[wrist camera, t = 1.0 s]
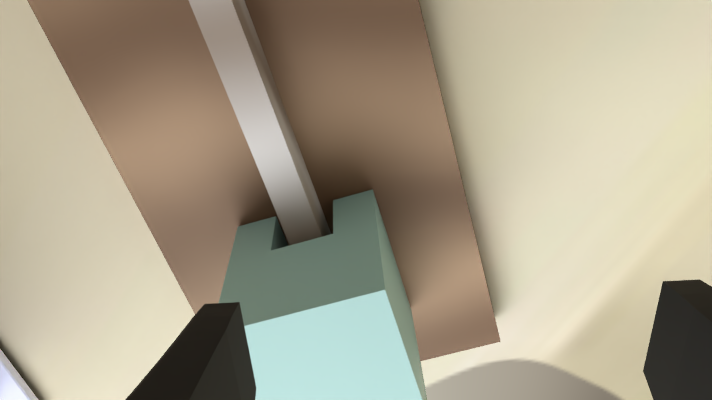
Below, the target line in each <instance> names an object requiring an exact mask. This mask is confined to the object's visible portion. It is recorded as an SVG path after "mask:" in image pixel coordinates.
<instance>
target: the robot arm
mask: <svg viewBox="0 0 712 400" xmlns="http://www.w3.org/2000/svg"><path fill="white" fill-rule="evenodd" d="M643 372H644V374H645V377H646V380H647V383H648V385H649V388H650V391H651V394H652V397H653V399H654V400H712V287H711V286H709V285H708V284H706V283H704V282H703V281H701V280H683V281H663V284H662V288H661V293H660V297H659V302H658V306H657V311H656V315H655V320H654V324H653V329H652V333H651V338H650V343H649V347H648V352H647V356H646V361H645V365H644V370H643ZM255 397H256V383H255V378H254V373H253V368H252V363H251V358H250V353H249V348H248V343H247V338H246V333H245V327H244V322H243V317H242V312H241V307H240V302H232V303H211V304H204V305H203V306H202V307H201V308H200V309H199V311H198V312H197V313H196V314H195V316H194V317H193V318H192V319H191V321H190V322H189V323H188V324H187V326H186V327H185V328H184V330H183V331H182V332H181V333H180V335H179V336H178V337H177V338H176V340H175V341H174V342H173V343H172V345H171V346H170V347H169V348H168V350H167V351H166V352H165V353H164V355H163V356H162V357H161V358H160V360H159V361H158V362H157V363H156V364H155V366H154V367H153V368H152V369H151V370H150V372H149V373H148V374H147V375H146V376H145V377H144V379H143V380H142V381H141V382H140V383H139V385H138V386H137V387H136V388H135V389H134V390H133V392H132V393H131V394H130V395H129V396H128V397H127V399H126V400H255ZM0 400H38V398H37V397H36V396H35V394H34V393H33V392H32V390H31V389H30V388H29V386H28V385H27V384H26V382H25V381H24V380H23V378H22V377H21V376H20V374H19V373H18V372H17V370H16V369H15V368H14V367H13V365H12V364H11V363H10V361H9V360H8V359H7V357H6V356H5V355H4V353H3V352H2V351H1V349H0Z"/></svg>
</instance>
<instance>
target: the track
mask: <svg viewBox="0 0 712 400" xmlns="http://www.w3.org/2000/svg"><path fill="white" fill-rule="evenodd" d="M27 1H28V2H29V4H30V6H31V8H32V10H33V12H34V14H35V16H36V17H37V19H38V21H39V23H40V25H41V27H42V29H43V31H44V32H45V34H46V36H47V38H48V40H49V42H50V44H51V46H52V47H53V49H54V51H55V53H56V55H57V57H58V59H59V60H60V62H61V64H62V66H63V68H64V70H65V72H66V74H67V75H68V77H69V79H70V81H71V83H72V85H73V87H74V89H75V90H76V92H77V94H78V96H79V98H80V100H81V102H82V104H83V105H84V107H85V109H86V111H87V113H88V115H89V117H90V118H91V120H92V122H93V124H94V126H95V128H96V130H97V132H98V133H99V135H100V137H101V139H102V141H103V143H104V145H105V147H106V148H107V150H108V152H109V154H110V156H111V158H112V160H113V162H114V163H115V165H116V167H117V169H118V171H119V173H120V175H121V176H122V178H123V180H124V182H125V184H126V186H127V188H128V190H129V191H130V193H131V195H132V197H133V199H134V201H135V203H136V205H137V206H138V208H139V210H140V212H141V214H142V216H143V218H144V220H145V221H146V223H147V225H148V227H149V229H150V231H151V233H152V234H153V236H154V238H155V240H156V242H157V244H158V246H159V248H160V249H161V251H162V253H163V255H164V257H165V259H166V261H167V263H168V264H169V266H170V268H171V270H172V272H173V274H174V276H175V277H176V279H177V281H178V283H179V285H180V287H181V289H182V291H183V292H184V294H185V296H186V298H187V300H188V302H189V304H190V306H191V307H192V309H193V311H194V313H195V314H196V313H197V312H198V311H199V309H200V308H201V307H202V306H203V305H204V304H211V303H219V299H220V295H221V291H222V287H223V283H224V279H225V275H226V271H227V267H228V263H229V259H230V255H231V252H232V248H233V244H234V240H235V236H236V232H237V228H238V226H242V225H245V224H249V223H253V222H256V221H260V220H264V219H267V218H271V217H274V216H276V217H277V219H278V222H279V224H280V227H281V229H282V232H283V234H284V236H285V239H286V241H287V244H288V246H290V245H293V244H297V243H301V242H304V241H308V240H312V239H315V238H319V237H323V236H327V235H330V234H333V200H336V199H340V198H343V197H347V196H350V195H354V194H358V193H361V192H365V191H368V190H372V189H373V192H374V195H375V198H376V201H377V204H378V207H379V211H380V214H381V217H382V220H383V223H384V226H385V229H386V232H387V236H388V239H389V242H390V245H391V248H392V251H393V254H394V257H395V260H396V264H397V267H398V270H399V273H400V276H401V279H402V282H403V285H404V289H405V292H406V295H407V298H408V301H409V304H410V307H411V311H412V317H413V322H414V328H415V334H416V339H417V345H418V351H419V357H420V361H423V360H427V359H431V358H435V357H439V356H443V355H447V354H451V353H455V352H460V351H464V350H468V349H472V348H476V347H480V346H484V345H488V344H492V343H496V342H501V341H500V337H499V333H498V329H497V325H496V321H495V317H494V312H493V308H492V304H491V300H490V296H489V292H488V287H487V283H486V279H485V275H484V271H483V267H482V262H481V258H480V254H479V250H478V246H477V242H476V237H475V233H474V229H473V225H472V221H471V217H470V213H469V208H468V204H467V200H466V196H465V192H464V188H463V183H462V179H461V175H460V171H459V167H458V163H457V158H456V154H455V150H454V146H453V142H452V138H451V133H450V129H449V125H448V121H447V117H446V113H445V109H444V104H443V100H442V96H441V92H440V88H439V84H438V79H437V75H436V71H435V67H434V63H433V59H432V54H431V50H430V46H429V42H428V38H427V34H426V29H425V25H424V21H423V17H422V13H421V9H420V5H419V0H27Z"/></svg>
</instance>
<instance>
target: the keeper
mask: <svg viewBox="0 0 712 400" xmlns="http://www.w3.org/2000/svg"><path fill="white" fill-rule="evenodd" d="M232 302H240V307H241V312H242V317H243V322H244V327H245V333H246V338H247V343H248V348H249V353H250V358H251V363H252V368H253V373H254V378H255V383H256V397H255V400H427V397H426V391H425V385H424V379H423V374H422V368H421V362H420V357H419V351H418V345H417V339H416V334H415V328H414V322H413V317H412V311H411V307H410V304H409V301H408V298H407V295H406V292H405V289H404V285H403V282H402V279H401V276H400V273H399V270H398V267H397V264H396V260H395V257H394V254H393V251H392V248H391V245H390V242H389V239H388V236H387V232H386V229H385V226H384V223H383V220H382V217H381V214H380V211H379V207H378V204H377V201H376V198H375V195H374V192H373V189H372V190H368V191H365V192H361V193H358V194H354V195H350V196H347V197H343V198H340V199H336V200H333V234H330V235H327V236H323V237H319V238H315V239H312V240H308V241H304V242H301V243H297V244H293V245H290V246H288V244H287V241H286V239H285V236H284V234H283V232H282V229H281V227H280V224H279V222H278V219H277V217H276V216H274V217H271V218H267V219H264V220H260V221H256V222H253V223H249V224H245V225H242V226H238V228H237V232H236V236H235V240H234V244H233V248H232V252H231V255H230V259H229V263H228V267H227V271H226V275H225V279H224V283H223V287H222V291H221V295H220V299H219V303H232Z"/></svg>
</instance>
